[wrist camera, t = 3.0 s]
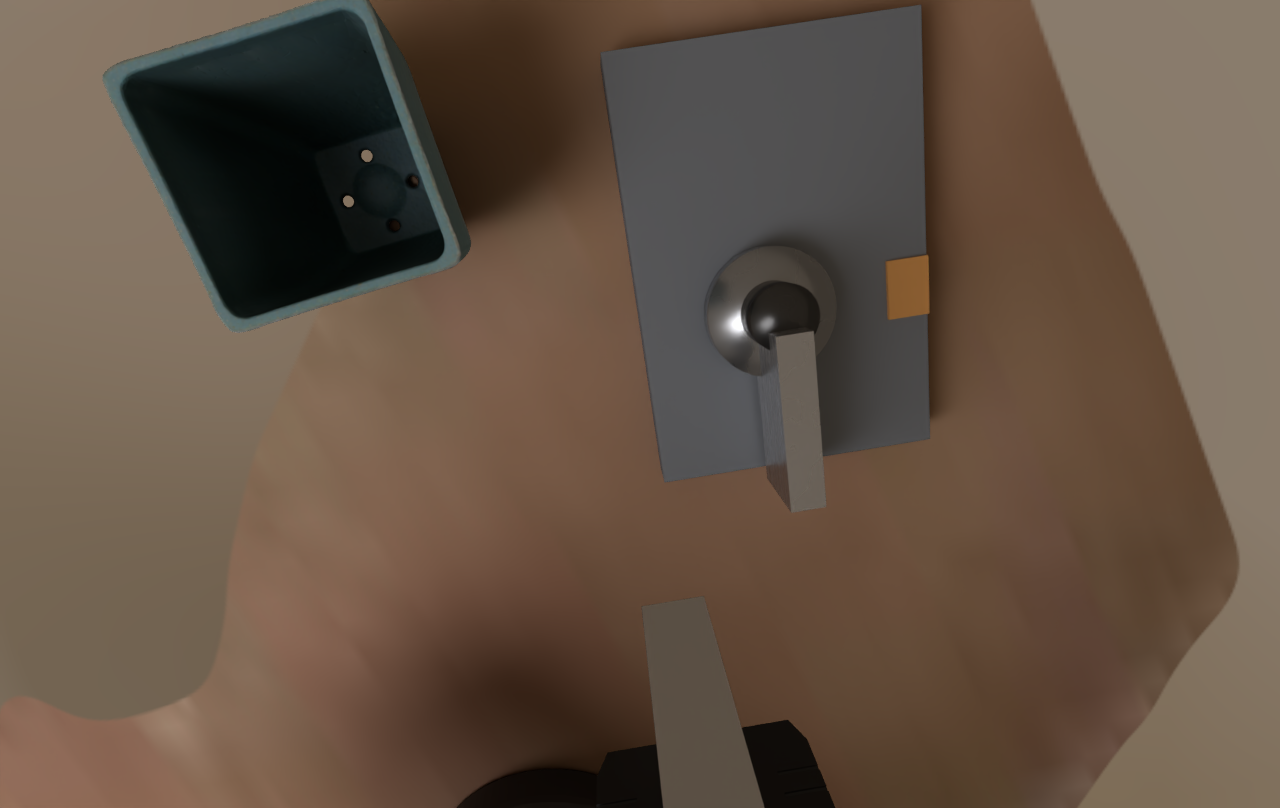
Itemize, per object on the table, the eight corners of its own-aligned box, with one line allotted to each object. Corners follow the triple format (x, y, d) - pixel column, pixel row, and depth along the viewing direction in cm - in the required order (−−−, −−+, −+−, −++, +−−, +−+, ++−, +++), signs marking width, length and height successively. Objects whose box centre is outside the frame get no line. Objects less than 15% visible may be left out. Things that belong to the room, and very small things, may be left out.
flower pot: (505, 257, 29) (465, 263, 21) (335, 310, 30) (225, 337, 21) (438, 65, 27) (362, -17, 18) (254, 123, 27) (93, 68, 19)
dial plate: (660, 468, 33) (665, 483, 31) (600, 65, 27) (600, 50, 25) (910, 427, 33) (931, 439, 31) (898, 21, 28) (923, 2, 26)
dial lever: (696, 256, 28) (713, 258, 24) (823, 236, 28) (861, 235, 24) (723, 483, 31) (743, 520, 27) (837, 464, 31) (874, 498, 27)
